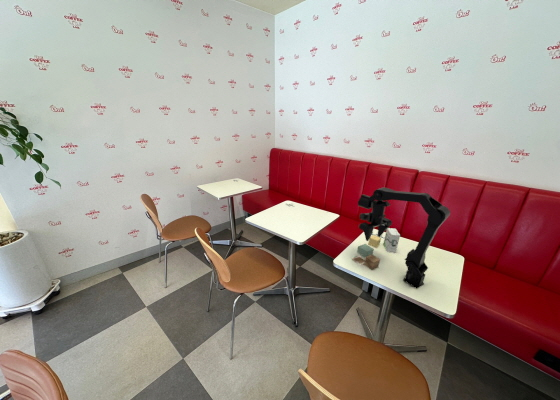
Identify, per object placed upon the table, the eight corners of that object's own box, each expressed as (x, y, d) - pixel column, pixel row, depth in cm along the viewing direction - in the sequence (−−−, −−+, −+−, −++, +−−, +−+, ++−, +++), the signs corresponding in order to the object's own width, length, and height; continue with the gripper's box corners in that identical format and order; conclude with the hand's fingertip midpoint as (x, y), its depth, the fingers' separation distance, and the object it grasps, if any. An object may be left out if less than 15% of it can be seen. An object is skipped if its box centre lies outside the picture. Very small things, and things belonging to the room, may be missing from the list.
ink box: (382, 244, 134) (386, 227, 130) (390, 244, 134) (395, 228, 130) (387, 251, 126) (391, 234, 122) (396, 252, 126) (400, 235, 122)
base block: (372, 254, 124) (373, 248, 122) (365, 257, 121) (366, 251, 119) (364, 249, 129) (365, 243, 127) (357, 252, 126) (358, 246, 124)
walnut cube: (378, 267, 113) (380, 259, 111) (371, 270, 111) (373, 262, 109) (370, 262, 117) (371, 254, 115) (364, 264, 115) (365, 256, 113)
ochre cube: (379, 244, 133) (381, 237, 132) (376, 248, 130) (377, 240, 128) (371, 241, 137) (373, 234, 135) (368, 244, 133) (369, 237, 132)
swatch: (367, 262, 117) (367, 261, 117) (360, 265, 114) (360, 264, 114) (358, 256, 122) (359, 255, 121) (351, 259, 119) (351, 258, 119)
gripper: (376, 203, 121) (372, 228, 126) (352, 209, 112) (349, 236, 118) (395, 210, 112) (389, 237, 117) (370, 217, 103) (365, 245, 109)
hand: (372, 238), depth 115 cm, fingers open, 9 cm apart
